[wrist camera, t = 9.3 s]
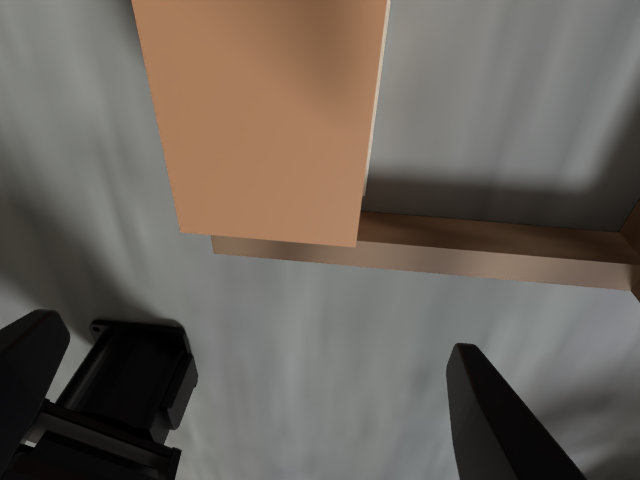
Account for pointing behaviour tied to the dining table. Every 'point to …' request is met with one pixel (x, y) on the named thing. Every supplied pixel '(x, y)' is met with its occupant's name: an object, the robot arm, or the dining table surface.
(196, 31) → the block
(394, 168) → the dining table surface
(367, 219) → the bay
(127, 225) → the dining table surface
